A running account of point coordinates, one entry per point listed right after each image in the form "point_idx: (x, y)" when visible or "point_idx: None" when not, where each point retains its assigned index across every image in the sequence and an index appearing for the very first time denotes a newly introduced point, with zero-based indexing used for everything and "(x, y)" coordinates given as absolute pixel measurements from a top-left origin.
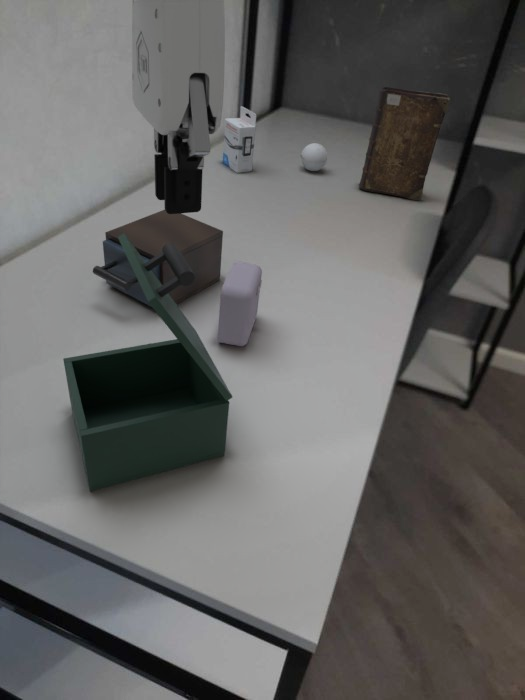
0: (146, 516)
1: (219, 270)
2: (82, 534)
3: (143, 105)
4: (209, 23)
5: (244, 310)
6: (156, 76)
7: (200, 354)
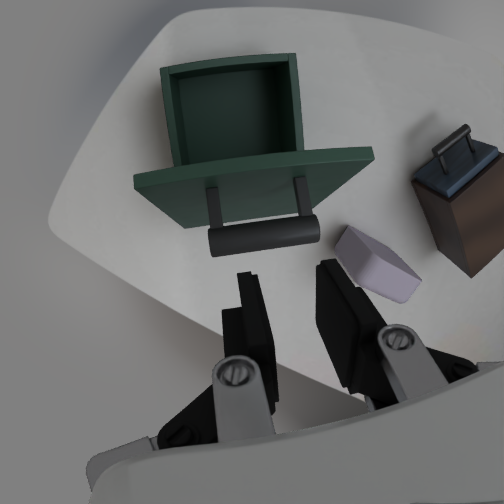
0: (136, 122)
1: (444, 254)
2: (130, 72)
3: (399, 456)
4: None
5: (350, 269)
6: None
7: (173, 216)
